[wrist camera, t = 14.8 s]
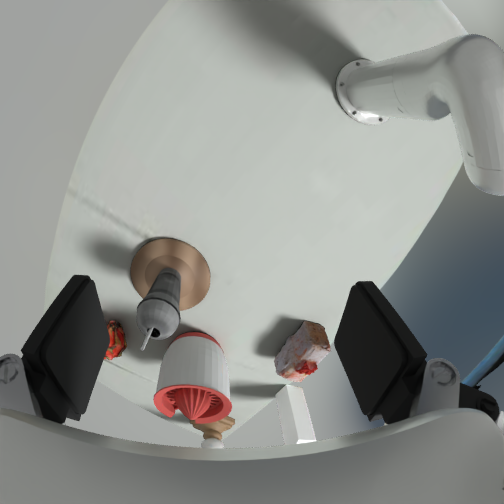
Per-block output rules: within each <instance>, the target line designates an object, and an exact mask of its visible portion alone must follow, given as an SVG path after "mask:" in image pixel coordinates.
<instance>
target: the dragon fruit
mask: <svg viewBox="0 0 504 504" xmlns="http://www.w3.org/2000/svg"><path fill="white" fill-rule="evenodd" d="M107 329H108V332H109V335H110V344H109V347H108V349H107V352H106V355H105V357H104V359H106V358H107V359H108V360H112V359H113V358H114V357H120V356H121V355H122V352H123V351H124V350H125V349H126V347H127V344H126V339H125V334H124V333H123V331H122V330H123V329H122V326H121V324H120V323H119V326H117V324H116V321H109V324H108V325H107Z"/></svg>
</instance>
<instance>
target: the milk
mask: <svg viewBox="0 0 504 504" xmlns="http://www.w3.org/2000/svg"><path fill="white" fill-rule="evenodd" d="M275 397H276V402H277V407H278V413H279V418H280V424H281V429H282V434H283V440H284V445H291V444H299V443H307V442H313V441H316V438H315V433H314V430H313V426H312V422H311V418H310V415H309V411H308V407H307V404H306V400H305V397H304V392H303V389H302V388H301V387H296V386H291V385H285V386H284V387H283V388H282V389H281V390H280V391H279V392H278V393H277V394H276V395H275Z"/></svg>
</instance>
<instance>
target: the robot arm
mask: <svg viewBox="0 0 504 504" xmlns="http://www.w3.org/2000/svg"><path fill="white" fill-rule="evenodd" d="M356 64H357V65H356ZM340 84H341V86H340ZM336 92H337V96H338V100H339V102H340V104H341V106H342V107H343V109H344V110H345V112H346V113H347V114H348V115H349V116H350V117H352V118H353V119H354V120H356V121H358V122H360V123H363V124H367V125H379V124H382V123H384V122H386V121H387V120H389V119H390V118H404V119H416V120H427V121H435V120H439V119H442V118H444V117H446V116H447V115H449V114H450V113H451V116H452V119H453V122H454V124H455V128H456V131H457V135H458V139H459V143H460V148H461V152H462V156H463V161H464V165H465V169H466V172H467V175H468V177H469V179H470V181H471V182H472V183H473V184H474V185H475V186H476V187H477V188H478V189H480V190H482V191H484V192H487V193H490V194H495V195H501V196H504V52H503V50H502V49H501V48H500V47H499V46H498V45H497V44H496V43H495V42H494V41H492V40H491V39H489V38H487V37H485V36H481V35H476V34H471V35H470V34H469V35H462V36H458V37H455V38H452V39H450V40H448V41H446V42H443V43H441V44H439V45H437V46H434V47H431V48H429V49H425V50H422V51H418V52H414V53H410V54H406V55H402V56H398V57H394V58H391V59H387V60H384V61H380V62H377V63H375V62H372V61H369V60H355V61H352V62H350V63H348V64H347V65H345V66H344V67H343V68H342V69H341V71H340V72H339V74H338V77H337V81H336ZM352 112H353V114H352ZM109 344H110V335H109V332H108V329H107V325H106V322H105V319H104V316H103V312H102V309H101V305H100V302H99V298H98V294H97V290H96V286H95V283H94V281H93V280H91V279H90V277H89V276H87V275H74V276H73V277H72V278H71V279H70V280H69V282H68V283H67V284H66V286H65V287H64V288H63V289H62V291H61V292H60V293H59V295H58V296H57V297H56V299H55V300H54V301H53V303H52V304H51V306H50V307H49V308H48V310H47V311H46V313H45V314H44V316H43V317H42V318H41V320H40V322H39V323H38V324H37V326H36V327H35V329H34V330H33V332H32V333H31V335H30V336H29V338H28V340H27V341H26V343H25V344H24V346H23V348H22V349H21V351H22V353H23V357H22V358H20V357H19V356H18V355H15V354H6V355H3V356H1V357H0V504H504V412H503V411H501V412H500V413H499V407H498V404H497V402H496V400H495V399H494V398H493V397H492V396H490V395H489V394H487V393H484V392H482V391H479V390H477V389H474V388H472V387H469V386H467V385H465V384H462V383H460V376H459V373H458V370H457V369H456V368H455V366H454V365H453V364H451V363H450V362H449V361H447V360H445V359H441V358H434V359H432V360H430V361H429V362H428V363H427V362H426V361H425V358H426V357H427V353H426V352H425V351H424V349H423V348H422V346H421V345H420V343H419V342H418V341H417V339H416V338H415V336H414V335H413V334H412V332H411V331H410V330H409V328H408V327H407V325H406V324H405V323H404V321H403V320H402V319H401V317H400V316H399V315H398V313H397V312H396V311H395V309H394V308H393V307H392V305H391V304H390V303H389V302H388V300H387V299H386V298H385V297H384V295H383V294H382V293H381V292H380V290H379V289H378V288H377V286H376V285H375V284H374V283H373V282H372V281H359V282H357V283H356V284H355V285H354V286H352V288H351V290H350V294H349V297H348V300H347V303H346V307H345V310H344V313H343V316H342V319H341V322H340V325H339V328H338V331H337V334H336V336H335V340H334V344H335V348H336V351H337V353H338V355H339V358H340V360H341V362H342V365H343V367H344V369H345V372H346V374H347V376H348V379H349V381H350V384H351V386H352V388H353V390H354V393H355V396H356V398H357V400H358V403H359V405H360V408H361V410H362V412H363V414H364V415H367V416H368V419H369V421H370V422H371V421H374V420H378V419H382V418H383V419H384V421H385V424H384V426H382V427H378V428H374V429H370V430H366V431H363V432H358V433H354V434H350V435H345V436H341V437H336V438H331V439H325V440H319V441H313V442H307V443H299V444H291V445H282V446H271V447H258V448H235V449H234V448H229V449H228V448H226V449H225V448H191V447H177V446H166V445H157V444H149V443H142V442H136V441H129V440H124V439H119V438H113V437H109V436H104V435H100V434H96V433H91V432H88V431H84V430H80V429H76V428H72V427H69V426H66V424H65V420H66V417H67V418H70V419H73V420H77V421H79V420H80V417H81V414H84V413H85V412H86V409H87V406H88V403H89V400H90V396H91V393H92V390H93V388H94V385H95V382H96V379H97V376H98V373H99V371H100V368H101V365H102V362H103V360H104V357H105V355H106V352H107V349H108V347H109Z"/></svg>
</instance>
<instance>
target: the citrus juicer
mask: <svg viewBox="0 0 504 504" xmlns="http://www.w3.org/2000/svg"><path fill="white" fill-rule="evenodd" d="M153 400H154V404H155V406H156V408H157V409H158V410H159V411H160V412H161V413H163V414H164V415H166V416H168V417H170V418H171V417H172V416H173V415H174V414H175V410H177V409H179V410H180V411H181V412H182V413H183V414H184V415H185V416H186V417H187V418H188V419H190V420H194V419H195V422H196V424H204V423H212V422H216V421H219V420H221V419H223V418H225V417H226V416H227V415H229V413H230V412H231V409H232V404H231V402H230V387H229V372H228V365H227V361H226V358H225V356H224V352H223V350H222V348H221V346H220V345H219V343H218V342H217V341H216V340H215V339H214V338H212V337H211V336H209V335H206V334H204V333H199V332H188V333H184V334H181V335H179V336H178V337H177V338H176V339H175V340H174V341H173V342H172V343H171V344H170V346H169V348H168V350H167V351H166V353H165V355H164V357H163V360H162V364H161V368H160V373H159V379H158V384H157V390H156V394H155V395H154V399H153Z"/></svg>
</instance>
